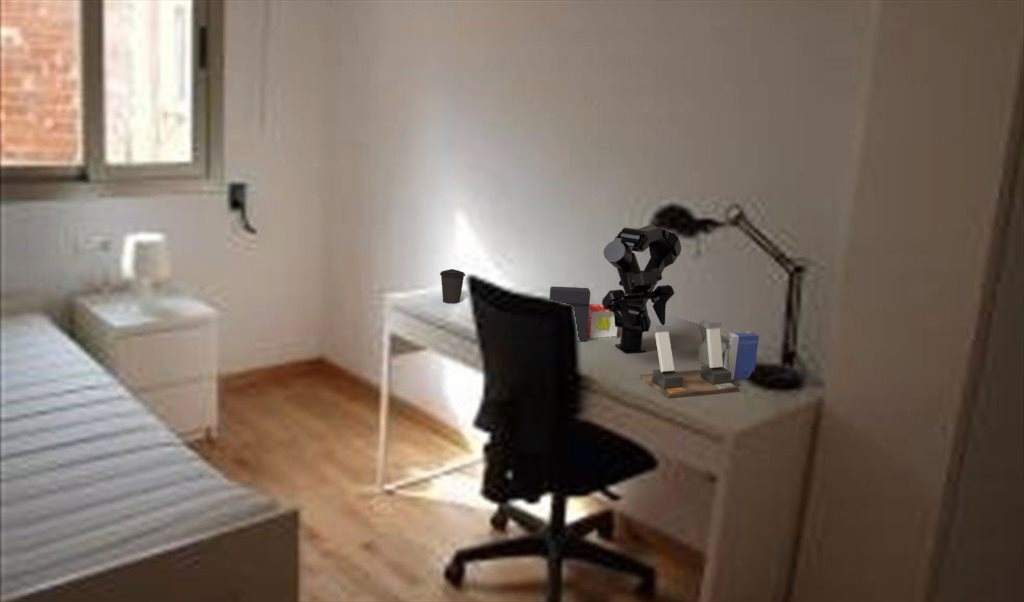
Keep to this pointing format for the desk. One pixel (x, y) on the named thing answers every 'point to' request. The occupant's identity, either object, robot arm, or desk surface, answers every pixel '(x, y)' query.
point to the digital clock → (703, 348)
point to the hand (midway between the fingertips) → (648, 326)
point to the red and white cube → (600, 322)
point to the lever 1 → (664, 348)
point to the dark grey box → (575, 305)
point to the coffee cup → (452, 285)
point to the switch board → (691, 382)
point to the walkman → (741, 354)
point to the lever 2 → (714, 344)
